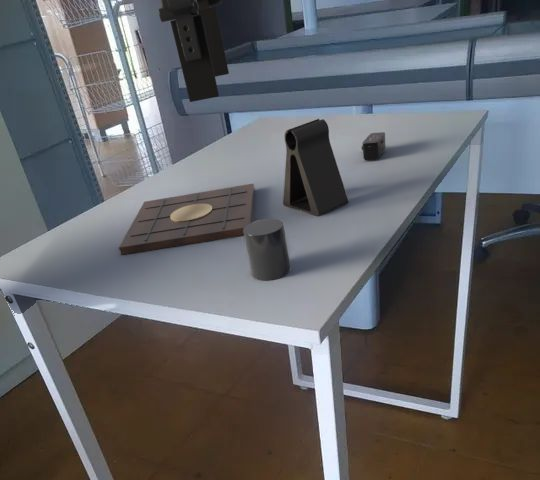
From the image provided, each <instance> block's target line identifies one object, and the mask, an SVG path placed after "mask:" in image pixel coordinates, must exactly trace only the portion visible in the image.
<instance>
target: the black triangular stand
mask: <svg viewBox="0 0 540 480" xmlns="http://www.w3.org/2000/svg"><path fill="white" fill-rule="evenodd" d="M329 129H330V128H329V125H328V123H327V121H326V120H325V119H324V118H322V119H320V118H317V119H314V120H311V121H309V122H306V123H303V124H300V125H297V126H295V127H292V128H289V129H287V130H285V132H284V143H285V148H286V149H285V150H286V155H285V169H284V184H283V196H282V198H283V199H282V204H283V206H284V207H287V208H290V209H293V210H296V211H298V212H299V211H300V212H302V213H305V214H308V215H313V216H315V217H320V216H322V215H324V214H327V213H328V212H331V211H333V210H335V209H338V208H340V207H342V206H345V205H346V204H348V203H349V198H348V195H347V192H346V189H345V185H344V183H343V179H342V176H341V173H340V169H339V166H338V163H337V161H336V157H335V154H334V151H333V147H332V144H331V141H330V130H329Z"/></svg>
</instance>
